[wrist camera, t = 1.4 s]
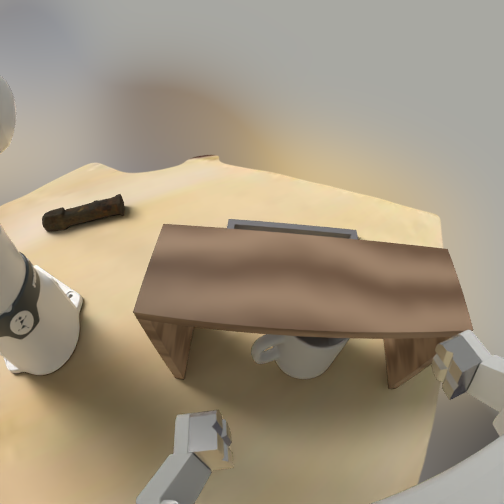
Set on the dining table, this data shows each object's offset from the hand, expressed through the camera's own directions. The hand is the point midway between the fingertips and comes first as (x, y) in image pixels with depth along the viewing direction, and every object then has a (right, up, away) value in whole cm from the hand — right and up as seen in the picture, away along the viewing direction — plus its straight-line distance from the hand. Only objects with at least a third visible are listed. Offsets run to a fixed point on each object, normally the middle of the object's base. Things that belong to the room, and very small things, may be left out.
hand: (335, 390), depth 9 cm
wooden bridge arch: (+3, -9, +30) cm, 32 cm away
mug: (+3, -10, +31) cm, 32 cm away
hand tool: (-37, +10, +46) cm, 60 cm away
